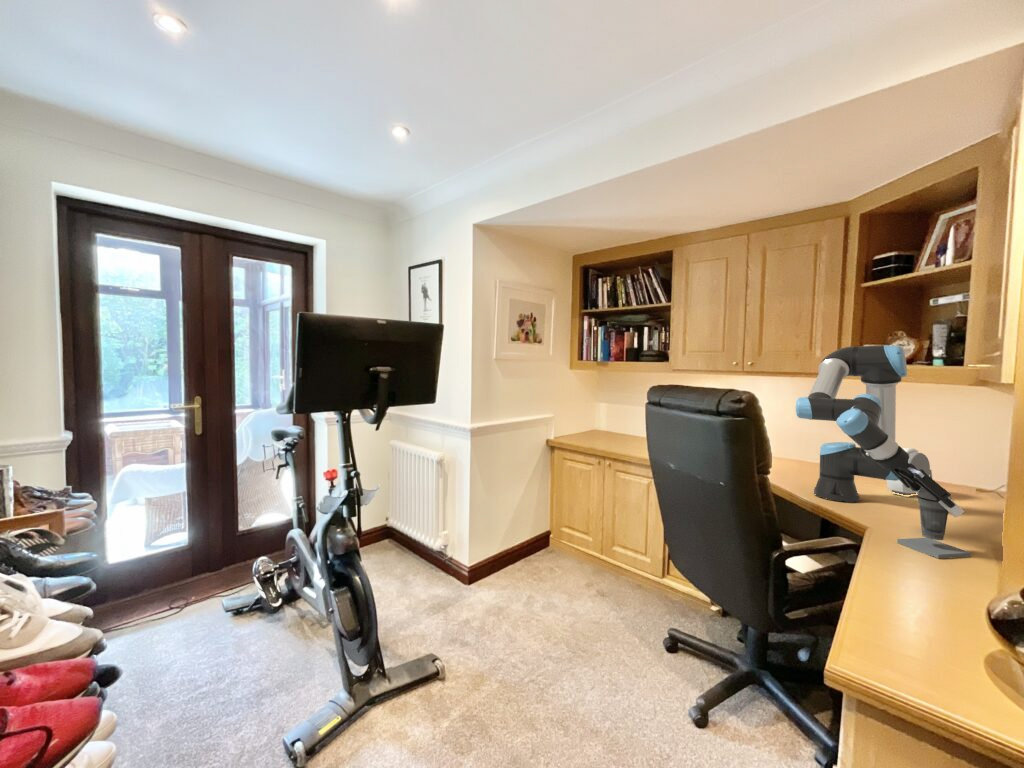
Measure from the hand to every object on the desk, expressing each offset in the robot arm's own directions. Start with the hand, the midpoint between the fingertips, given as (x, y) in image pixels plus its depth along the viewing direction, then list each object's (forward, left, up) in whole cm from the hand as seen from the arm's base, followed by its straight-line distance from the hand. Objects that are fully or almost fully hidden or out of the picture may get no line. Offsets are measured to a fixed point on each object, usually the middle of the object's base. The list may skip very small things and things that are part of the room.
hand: (947, 509), depth 123 cm
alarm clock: (-51, -51, -13) cm, 73 cm away
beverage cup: (+3, -1, -9) cm, 9 cm away
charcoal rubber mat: (+3, -1, -12) cm, 13 cm away
